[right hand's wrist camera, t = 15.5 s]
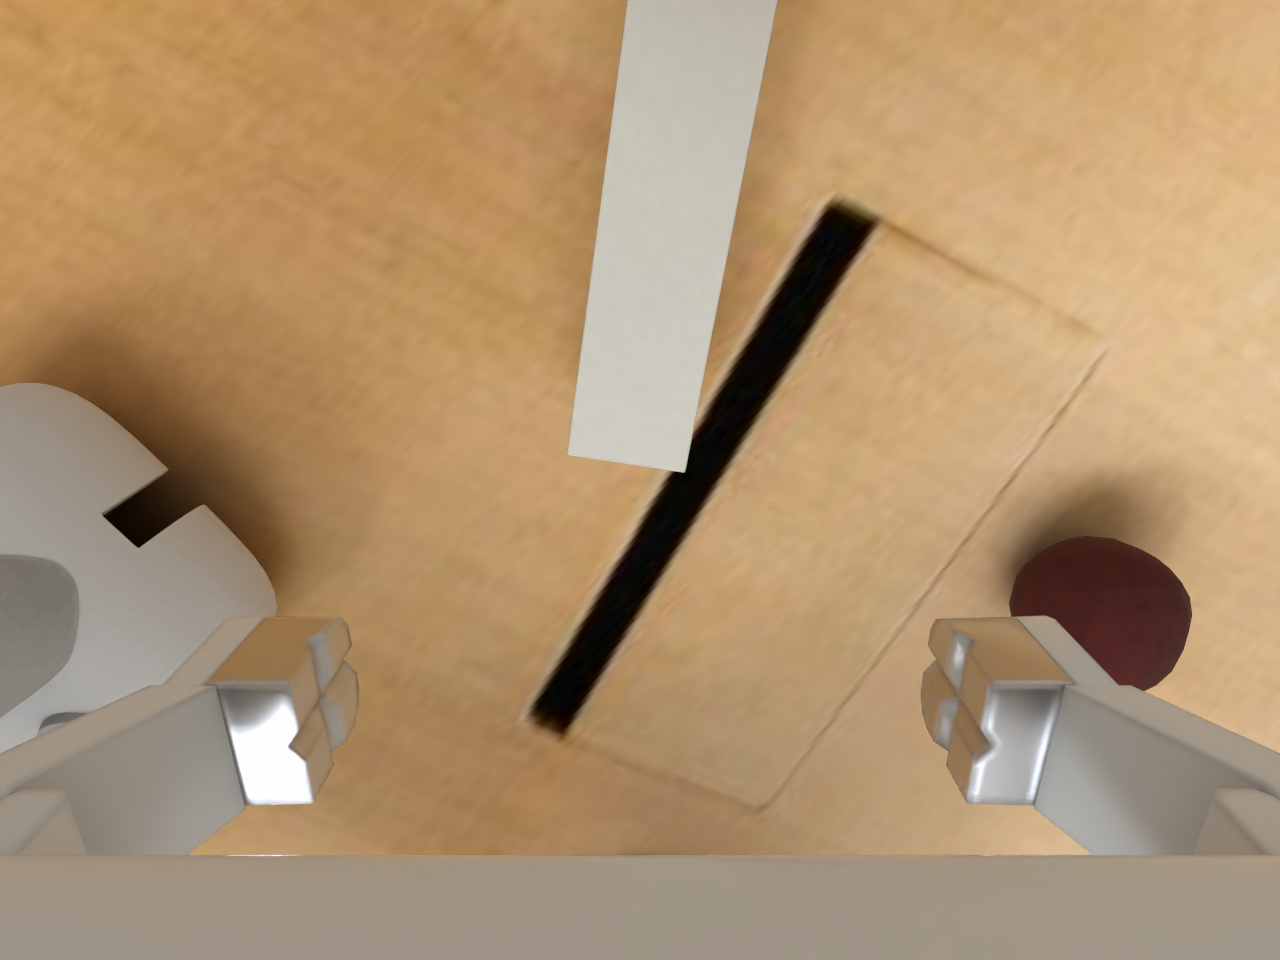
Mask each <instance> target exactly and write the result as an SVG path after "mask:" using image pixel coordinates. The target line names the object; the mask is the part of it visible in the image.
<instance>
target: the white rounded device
mask: <svg viewBox="0 0 1280 960" xmlns="http://www.w3.org/2000/svg"><path fill="white" fill-rule="evenodd" d="M168 470H169V469H168V468H167V467H166V466H165V465H164V464H163V463H162V462H160V461H159V460H158V459H157V458H156V457H155V456H154V455H153V454H152V453H151V452H150V451H149V450H148V449H147V448H146V447H145V446H143V445H142V444H141V443H140V442H139V441H138V440H137V439H136V438H135V437H134V436H133V435H132V434H130V433H129V432H128V431H127V430H126V429H125V428H123V427H122V426H121V425H120V424H119V423H118V422H116V421H115V420H114V419H113V418H112V417H110V416H109V415H108V414H106V413H105V412H104V411H102V410H101V409H99V408H98V407H97V406H95V405H94V404H92V403H91V402H89V401H87V400H86V399H84V398H82V397H80V396H79V395H77V394H74V393H72V392H70V391H67V390H65V389H62V388H59V387H56V386H53V385H47V384H42V383H16V384H11V385H6V386H2V387H0V753H2V752H4V751H6V750H8V749H10V748H13V747H15V746H17V745H19V744H21V743H24V742H26V741H28V740H30V739H32V738H35V737H37V736H39V735H41V734H43V733H46V732H48V731H50V730H52V729H54V728H57V727H59V726H61V725H63V724H65V723H68V722H70V721H72V720H74V719H76V718H79V717H81V716H83V715H85V714H87V713H90V712H92V711H94V710H96V709H98V708H101V707H103V706H105V705H107V704H109V703H112V702H114V701H116V700H118V699H120V698H123V697H125V696H127V695H129V694H131V693H134V692H136V691H138V690H140V689H142V688H145V687H147V686H149V685H162V684H163V683H164V682H165V681H166V680H167V679H168V678H169V677H170V676H171V675H172V674H173V673H174V672H175V671H176V670H177V669H178V668H179V667H180V666H181V665H182V663H183V662H184V661H185V660H186V659H187V658H188V657H189V656H190V655H191V654H192V653H193V652H194V651H195V650H196V649H197V648H198V647H199V646H200V645H201V644H202V643H203V642H204V641H205V640H206V639H207V638H208V637H209V636H210V635H211V634H212V633H213V632H214V631H215V629H216V628H217V627H218V626H219V625H220V624H221V623H222V622H223V621H224V620H225V619H226V618H231V617H235V616H268V617H272V616H276V611H277V602H276V595H275V592H274V589H273V586H272V584H271V581H270V580H269V578H268V576H267V574H266V572H265V571H264V569H263V568H262V566H261V565H260V564H259V562H258V561H257V560H256V558H255V557H254V556H253V555H252V553H251V552H250V551H249V550H248V549H247V548H246V547H245V545H244V544H243V543H242V542H241V541H240V540H239V539H238V538H237V537H236V536H235V535H234V534H233V533H232V532H231V530H230V529H229V528H228V527H227V526H226V525H225V524H224V523H223V522H222V521H221V520H220V519H219V518H218V517H217V516H216V515H215V514H214V513H213V512H212V511H211V510H210V509H209V508H208V507H207V506H206V505H201V506H199V507H197V508H195V509H193V510H192V511H190V512H189V513H187V514H186V515H184V516H183V517H181V518H180V519H178V520H177V521H175V522H174V523H172V524H171V525H170V526H168V527H167V528H165V529H164V530H163V531H161V532H160V533H159V534H157V535H156V536H154V537H153V538H152V539H150V540H149V541H148V542H146V543H145V544H144V545H142V546H141V547H140V548H138V547H136V546H135V545H134V544H133V543H131V542H130V541H129V540H128V539H127V538H126V537H125V536H124V535H123V534H122V533H121V532H119V531H118V530H117V529H116V528H115V527H114V526H113V525H112V524H111V523H110V522H109V521H108V520H106V519H105V518H104V517H105V516H106V515H108V514H109V513H111V512H112V511H113V510H115V509H116V508H118V507H119V506H120V505H122V504H123V503H125V502H126V501H127V500H129V499H130V498H132V497H133V496H134V495H136V494H137V493H139V492H140V491H141V490H143V489H144V488H146V487H147V486H148V485H150V484H151V483H153V482H154V481H155V480H157V479H158V478H159V477H161V476H162V475H163V474H165V473H166V472H167V471H168Z"/></svg>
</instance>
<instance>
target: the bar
mask: <svg viewBox="0 0 1280 960" xmlns="http://www.w3.org/2000/svg"><path fill="white" fill-rule="evenodd" d="M777 2H778V0H627V8H626V15H625V23H624V30H623V38H622V45H621V53H620V60H619V68H618V75H617V83H616V90H615V98H614V105H613V113H612V120H611V128H610V135H609V143H608V150H607V158H606V165H605V173H604V180H603V188H602V195H601V203H600V210H599V218H598V225H597V233H596V240H595V248H594V255H593V263H592V270H591V278H590V285H589V293H588V300H587V308H586V315H585V323H584V330H583V338H582V345H581V352H580V360H579V367H578V375H577V382H576V390H575V397H574V405H573V412H572V420H571V427H570V435H569V442H568V450H567V454H568V455H571V456H578V457H585V458H591V459H598V460H604V461H611V462H618V463H624V464H631V465H637V466H644V467H651V468H657V469H664V470H671V471H677V472H685V470H686V465H687V460H688V455H689V450H690V444H691V439H692V434H693V429H694V424H695V419H696V414H697V409H698V404H699V399H700V394H701V388H702V383H703V378H704V373H705V368H706V363H707V358H708V353H709V348H710V343H711V338H712V333H713V327H714V322H715V317H716V312H717V307H718V302H719V297H720V292H721V287H722V282H723V277H724V271H725V266H726V261H727V256H728V251H729V246H730V241H731V236H732V231H733V226H734V221H735V216H736V210H737V205H738V200H739V195H740V190H741V185H742V180H743V175H744V170H745V165H746V160H747V154H748V149H749V144H750V139H751V134H752V129H753V124H754V119H755V114H756V109H757V104H758V99H759V93H760V88H761V83H762V78H763V73H764V68H765V63H766V58H767V53H768V48H769V43H770V37H771V32H772V27H773V22H774V17H775V12H776V7H777Z"/></svg>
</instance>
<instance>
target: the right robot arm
mask: <svg viewBox="0 0 1280 960" xmlns="http://www.w3.org/2000/svg"><path fill="white" fill-rule="evenodd" d="M351 646H352V643H351V638H350V633H349V628H348V624H347V623H346V622H345V621H344V620H343V619H342V618H328V617H277V616H272V617H268V616H235V617H231V618H226V619H225V620H224V621H223V622H222V623H221V624H220V625H219V626H218V627H217V628H216V629H215V631H214V632H213V633H212V634H211V635H210V636H209V637H208V638H207V639H206V640H205V641H204V642H203V643H202V644H201V645H200V646H199V647H198V648H197V649H196V650H195V651H194V652H193V653H192V654H191V655H190V656H189V657H188V658H187V659H186V660H185V661H184V662H183V663H182V665H181V666H180V667H179V668H178V669H177V670H176V671H175V672H174V673H173V674H172V675H171V676H170V677H169V678H168V679H167V680H166V681H165V682H164V683H163V684H162V685H149V686H147V687H145V688H142V689H140V690H138V691H136V692H134V693H131V694H129V695H127V696H125V697H123V698H120V699H118V700H116V701H114V702H112V703H109V704H107V705H105V706H103V707H101V708H98V709H96V710H94V711H92V712H90V713H87V714H85V715H83V716H81V717H79V718H76V719H74V720H72V721H70V722H68V723H65V724H63V725H61V726H59V727H57V728H54V729H52V730H50V731H48V732H46V733H43V734H41V735H39V736H37V737H35V738H32V739H30V740H28V741H26V742H24V743H21V744H19V745H17V746H15V747H13V748H10V749H8V750H6V751H4V752H2V753H0V960H1280V753H1278V752H1276V751H1274V750H1271V749H1269V748H1267V747H1265V746H1263V745H1260V744H1258V743H1256V742H1254V741H1252V740H1249V739H1247V738H1245V737H1243V736H1241V735H1238V734H1236V733H1234V732H1232V731H1230V730H1227V729H1225V728H1223V727H1221V726H1219V725H1217V724H1214V723H1212V722H1210V721H1208V720H1206V719H1203V718H1201V717H1199V716H1197V715H1195V714H1192V713H1190V712H1188V711H1186V710H1184V709H1181V708H1179V707H1177V706H1175V705H1173V704H1170V703H1168V702H1166V701H1164V700H1162V699H1160V698H1157V697H1155V696H1153V695H1151V694H1149V693H1146V692H1144V691H1142V690H1140V689H1138V688H1135V687H1133V686H1131V685H1118V684H1117V683H1116V682H1115V681H1114V680H1113V679H1112V678H1111V677H1110V676H1109V675H1108V674H1107V673H1106V672H1105V671H1104V670H1103V669H1102V668H1101V666H1100V665H1099V664H1098V663H1097V662H1096V661H1095V660H1094V659H1093V658H1092V657H1091V656H1090V655H1089V654H1088V653H1087V652H1086V651H1085V650H1084V649H1083V648H1082V647H1081V646H1080V645H1079V644H1078V643H1077V642H1076V641H1075V640H1074V639H1073V638H1072V637H1071V635H1070V634H1069V633H1068V632H1067V631H1066V630H1065V629H1064V628H1063V627H1062V626H1061V625H1060V624H1059V623H1058V622H1057V621H1056V620H1055V619H1053V618H1050V617H1048V616H1021V617H992V618H952V619H936V620H935V622H934V624H933V626H932V628H931V631H930V637H929V642H928V646H929V648H930V649H931V651H932V653H933V654H934V656H935V657H936V660H935V661H934V662H933V663H932V664H931V665H930V666H929V667H928V668H927V669H926V670H925V671H924V672H923V680H922V688H921V701H922V713H923V716H924V720H925V723H926V727H927V729H928V731H929V733H930V735H931V737H932V739H933V741H934V742H936V743H937V744H939V745H940V746H942V747H943V748H945V749H946V750H948V751H949V753H948V759H947V765H946V766H947V767H948V769H949V771H950V773H951V775H952V777H953V779H954V780H955V782H956V784H957V786H958V788H959V790H960V792H961V793H962V795H963V797H964V799H965V801H966V803H968V804H1005V805H1035V807H1034V809H1036V810H1037V811H1038V812H1039V813H1041V814H1042V815H1043V816H1044V817H1046V818H1047V819H1048V820H1049V821H1051V822H1052V823H1053V824H1054V825H1056V826H1057V827H1058V828H1060V829H1061V830H1062V831H1063V832H1065V833H1066V834H1067V835H1068V836H1070V837H1071V838H1072V839H1073V840H1075V841H1076V842H1077V843H1078V844H1080V845H1081V846H1082V847H1083V848H1085V849H1086V850H1087V851H1088V852H1090V853H1091V854H1092V855H188V854H189V853H191V852H192V851H193V850H194V849H196V848H197V847H198V846H199V845H201V844H202V843H203V842H204V841H206V840H207V839H208V838H209V837H211V836H212V835H213V834H214V833H216V832H217V831H218V830H219V829H221V828H222V827H223V826H225V825H226V824H227V823H228V822H230V821H231V820H232V819H233V818H235V817H236V816H237V815H238V814H240V813H241V812H242V811H243V810H245V808H246V807H245V805H274V804H310V803H314V801H315V799H316V797H317V795H318V793H319V792H320V790H321V788H322V786H323V784H324V782H325V780H326V779H327V777H328V775H329V773H330V771H331V769H332V767H333V766H334V765H333V759H332V753H331V751H332V750H334V749H335V748H337V747H338V746H340V745H341V744H343V743H344V742H346V741H347V739H348V737H349V735H350V733H351V731H352V729H353V727H354V724H355V719H356V715H357V710H358V706H359V685H358V679H357V672H356V671H355V670H354V669H353V668H352V667H351V666H350V665H349V664H348V663H347V662H346V661H345V660H344V657H345V656H346V654H347V653H348V651H349V649H350V648H351Z"/></svg>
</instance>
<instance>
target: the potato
mask: <svg viewBox="0 0 1280 960" xmlns="http://www.w3.org/2000/svg"><path fill="white" fill-rule="evenodd" d="M1009 605H1010V611H1011V616H1012V617H1021V616H1048V617H1050V618H1053V619H1055V620H1056V621H1057V622H1058V623H1059V624H1060V625H1061V626H1062V627H1063V628H1064V629H1065V630H1066V631H1067V632H1068V633H1069V634H1070V635H1071V637H1072V638H1073V639H1074V640H1075V641H1076V642H1077V643H1078V644H1079V645H1080V646H1081V647H1082V648H1083V649H1084V650H1085V651H1086V652H1087V653H1088V654H1089V655H1090V656H1091V657H1092V658H1093V659H1094V660H1095V661H1096V662H1097V663H1098V664H1099V665H1100V666H1101V668H1102V669H1103V670H1104V671H1105V672H1106V673H1107V674H1108V675H1109V676H1110V677H1111V678H1112V679H1113V680H1114V681H1115V682H1116V683H1117V684H1118V685H1131V686H1133V687H1135V688H1138V689H1140V690H1142V691H1145V690H1147V689H1149V688H1152V687H1154V686H1156V685H1157V684H1158V683H1159V682H1160V681H1162V680H1163V679H1164V678H1165V677H1166V676H1167V675H1168V674H1169V673H1171V672H1172V670H1173V668H1174V666H1175V664H1176V663H1177V661H1178V659H1179V657H1180V655H1181V653H1182V652H1183V650H1184V646H1185V643H1186V639H1187V636H1188V632H1189V628H1190V623H1191V618H1192V611H1191V603H1190V597H1189V595H1188V593H1187V591H1186V590H1185V588H1184V586H1183V584H1182V582H1181V581H1180V580H1179V579H1178V578H1177V576H1176V575H1175V574H1174V573H1173V572H1172V571H1171V569H1170V568H1168V567H1167V566H1166V565H1165V564H1163V563H1162V562H1161V561H1160V560H1158V559H1157V558H1156V557H1154V556H1152V555H1150V554H1148V553H1146V552H1145V551H1143V550H1141V549H1138V548H1136V547H1133V546H1131V545H1128V544H1125V543H1123V542H1120V541H1118V540H1115V539H1111V538H1101V537H1089V536H1084V537H1079V538H1074V539H1069V540H1065V541H1062V542H1060V543H1057V544H1055V545H1052V546H1050V547H1049V548H1047V549H1045V550H1044V551H1042V552H1040V553H1039V554H1038V555H1036V556H1035V557H1034V558H1033V559H1031V560H1030V561H1029V562H1028V563H1026V564H1025V565H1024V567H1023V568H1022V570H1021V571H1020V572H1019V574H1018V575H1017V577H1016V580H1015V583H1014V587H1013V591H1012V595H1011V599H1010V602H1009Z"/></svg>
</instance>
